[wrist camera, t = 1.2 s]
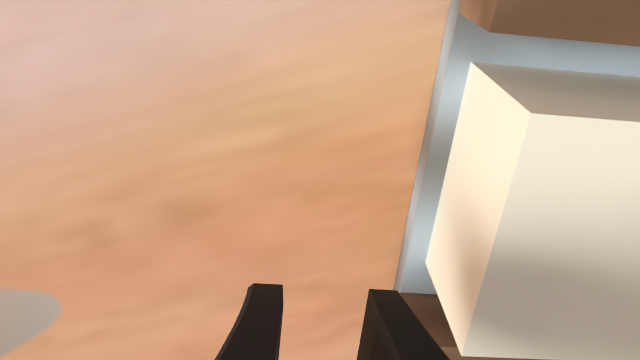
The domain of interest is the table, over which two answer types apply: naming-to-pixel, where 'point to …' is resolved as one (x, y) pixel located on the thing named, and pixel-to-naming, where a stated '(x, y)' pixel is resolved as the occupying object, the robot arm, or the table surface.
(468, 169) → the cream chamfered box
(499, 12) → the bay
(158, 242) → the table surface
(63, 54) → the table surface
